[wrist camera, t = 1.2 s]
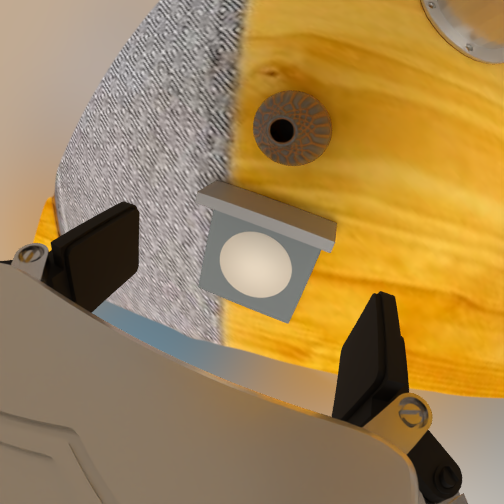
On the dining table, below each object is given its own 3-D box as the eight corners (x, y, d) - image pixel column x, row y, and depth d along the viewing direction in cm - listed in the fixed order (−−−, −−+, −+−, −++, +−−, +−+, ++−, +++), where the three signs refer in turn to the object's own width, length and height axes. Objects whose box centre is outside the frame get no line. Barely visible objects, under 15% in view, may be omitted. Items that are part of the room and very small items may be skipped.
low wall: (217, 180, 33) (197, 191, 28) (336, 223, 31) (334, 242, 27) (215, 189, 33) (195, 202, 29) (332, 232, 31) (330, 252, 27)
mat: (217, 198, 34) (215, 199, 33) (325, 238, 32) (325, 239, 32) (199, 285, 40) (198, 287, 40) (288, 321, 39) (287, 323, 38)
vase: (253, 113, 28) (220, 115, 21) (311, 82, 25) (298, 68, 18) (285, 170, 30) (264, 191, 23) (345, 142, 27) (346, 152, 19)
